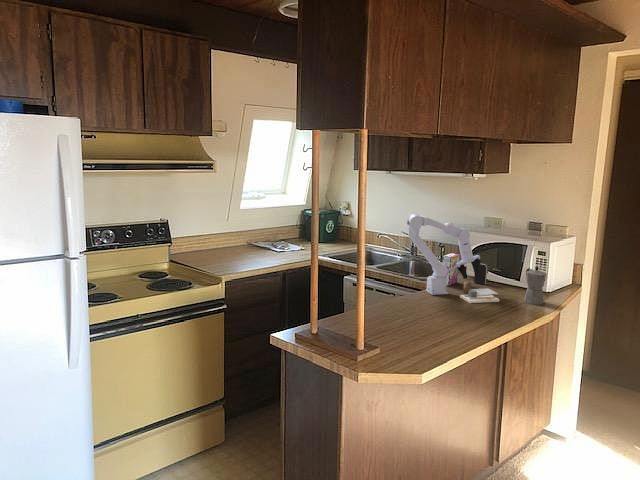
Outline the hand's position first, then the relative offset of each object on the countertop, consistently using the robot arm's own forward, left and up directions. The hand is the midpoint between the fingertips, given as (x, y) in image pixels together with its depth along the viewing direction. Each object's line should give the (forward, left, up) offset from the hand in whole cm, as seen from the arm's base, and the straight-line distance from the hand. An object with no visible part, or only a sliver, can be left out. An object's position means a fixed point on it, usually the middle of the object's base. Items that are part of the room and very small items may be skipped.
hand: (471, 276), depth 270 cm
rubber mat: (+8, 0, -9) cm, 12 cm away
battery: (+16, +18, -9) cm, 26 cm away
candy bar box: (-2, +20, -9) cm, 22 cm away
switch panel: (-1, -11, -9) cm, 14 cm away
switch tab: (-5, -11, -8) cm, 14 cm away
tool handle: (-2, 0, -9) cm, 9 cm away
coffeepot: (+24, -19, -9) cm, 32 cm away
